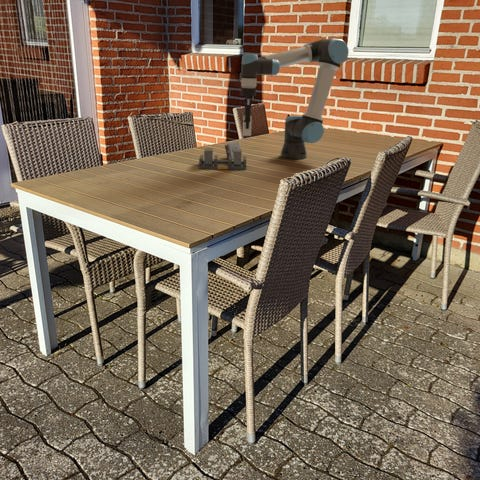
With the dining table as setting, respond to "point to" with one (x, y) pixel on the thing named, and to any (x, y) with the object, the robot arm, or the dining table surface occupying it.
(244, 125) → the grey block
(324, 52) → the robot arm
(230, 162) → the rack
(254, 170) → the dining table surface
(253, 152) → the dining table surface
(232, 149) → the electrical switch
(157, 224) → the dining table surface
